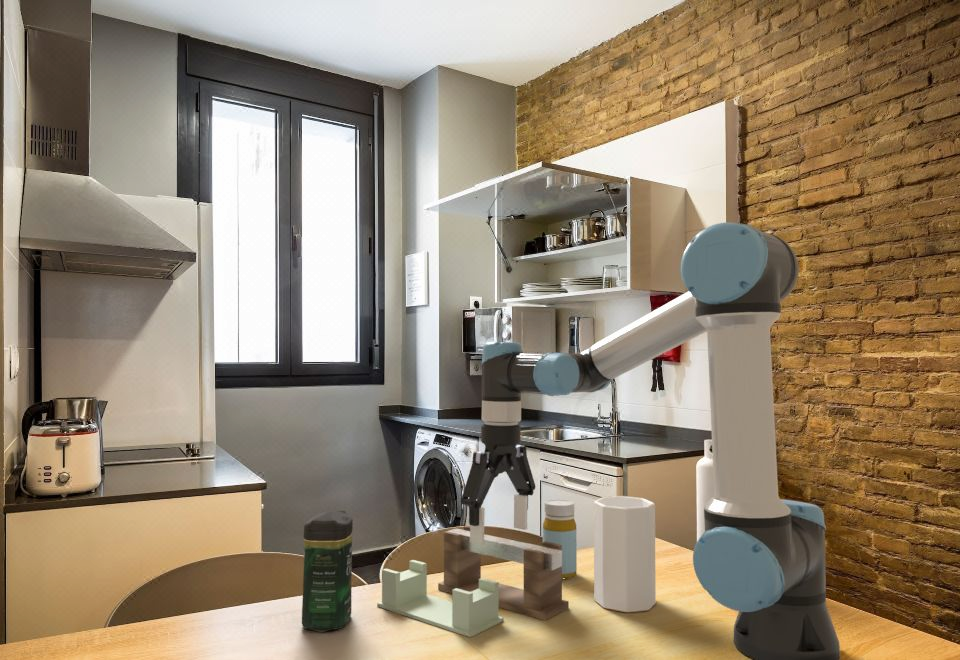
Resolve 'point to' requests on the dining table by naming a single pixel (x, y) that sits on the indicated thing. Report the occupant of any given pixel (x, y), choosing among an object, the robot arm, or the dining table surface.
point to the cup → (624, 553)
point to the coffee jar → (327, 571)
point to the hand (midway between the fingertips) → (499, 535)
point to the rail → (508, 549)
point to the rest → (440, 601)
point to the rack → (533, 601)
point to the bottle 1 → (562, 532)
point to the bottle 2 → (704, 485)
